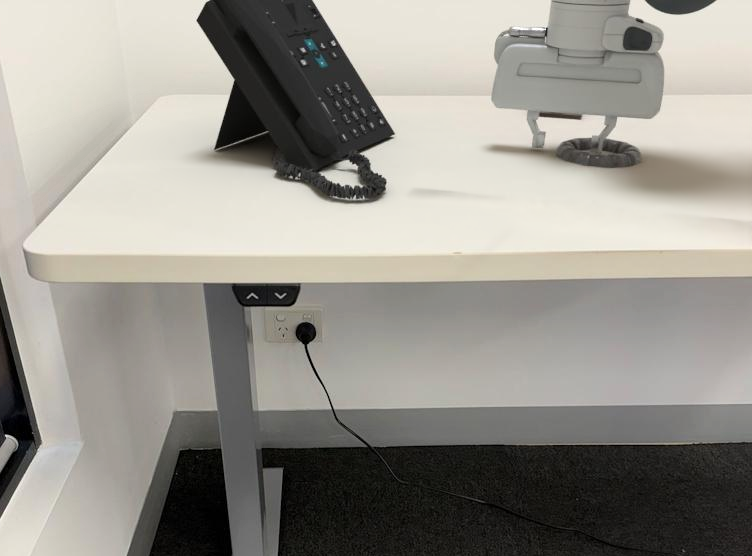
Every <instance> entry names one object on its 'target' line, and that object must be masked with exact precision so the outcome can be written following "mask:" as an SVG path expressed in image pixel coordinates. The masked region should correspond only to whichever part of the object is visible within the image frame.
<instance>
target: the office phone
mask: <svg viewBox="0 0 752 556" xmlns="http://www.w3.org/2000/svg"><path fill="white" fill-rule="evenodd" d="M195 21H196V23H197V24H198V26H199V27H200V29H201V31H202V32H203V33H204V35H205V37H206V38H207V40H208V41H209V43H210V44H211V46H212V47H213V49H214V51H215V52H216V53H217V55H218V56H219V58H220V59H221V61H222V63H223V64H224V66H225V67H226V69H227V71H228V72H229V74H230V75H231V77H232V78H233V83H232V87H231V90H230V94H229V97H228V100H227V104H226V107H225V111H224V115H223V118H222V121H221V125H220V128H219V131H218V134H217V138H216V142H215V144H214V148H213V151H216V150H219V149H222V148H224V147H227V146H230V145H233V144H235V143H239V142H242V141H244V140H247V139H250V138H253V137H256V136H259V135H262V134H264V133H267V132H268V134H269V136H270V137H271V139H272V140H273V141H274V147H273V151H272V157H271V163H272V164H273V165H274V170H275V171H276V172H277V175H279V176H280V177H282V176H283V177H286V179H288V178H290V177H292V179H293V181H294V180H295V179H296V178H297V179H298V180H299V179H300V181H302V182H305V181H306V182H308V183H311V185H313V186H314V187H316V188H317V191H320V192H321V193H322V194H324V195H326V196H327V197H331V198H333V197H334V198H335V197H337V198H338V199H343V200H345V199H348V200H353V199H354V198H355V200H360V199H361V200H363V199H364V200H371V199H372V198H377V197H378V196H379V195H381V193H383V192H385V191H387V187H386V186H387V183H388V181H387V179H386V178H385V177H384V176H383V174H379V172H374V171H373V170H372V169H371V166H372V163H371V162H370V159H369V158H368V157H367V156H366V155H365V154H361V153H359V150H361V149H364V148H366V147H369V146H371V145H373V144H375V143H376V144H377V143H378V142H381V141H382V140H385V139H388V138H390V137H393V136H394V135H396V133H395V131H394V129H393V128H392V126H391V125H390V123H389V122H388V120H387V118H386V117H385V115H384V113H383V112H382V110H381V108H380V107H379V105H378V104H377V102H376V101H375V99H374V96H373V95H372V94H371V92H370V91H369V89H368V87H367V86H366V85H365V83H364V81H363V79H362V78H361V76H360V74H359V73H358V71H357V70H356V68H355V67H354V65H353V63H352V62H351V60H350V58H349V57H348V55H347V53H346V51H344V48H343V47H342V45H341V44H340V43H339V41H338V39H337V38H336V35H334V33H333V31H332V29H331V27H330V25H329V24H328V23H327V22H326V20H325V18H324V16H323V15H322V13H321V12H320V10H319V8H318V7H317V5H316V4H315V2H314V0H207V1H206V2H205V3H204V5H203V7H202V9H201V10H200V13H199V15H198V17H197V18H196V20H195ZM241 140H242V141H241ZM276 147H277V148H278V150H279V151H280V153H281V154H282V156H283V157H282V158H279V159H278V157H277V155H276V149H277V148H276ZM345 156H347V157H346V158H344V157H345ZM336 161H349V164H350V163H351V165H352V166H353V165H355V166H356V167H357V173H358V175H359V177H360V178H361V180H362V181H364V183H366V185H363V186H362V187H361V186H360V185H359V184H356V185H354V186H352V185H350V184H344V185H341V184H340V182H337V183H335V182H333V181H332V180H330V179H328V178H326V176H325V175H322V173H320V171H317V170H319V169H321V168H324V167H326V166H328V165H329V164H331V163H334V162H336Z"/></svg>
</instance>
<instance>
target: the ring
mask: <svg viewBox="0 0 752 556" xmlns="http://www.w3.org/2000/svg"><path fill="white" fill-rule="evenodd" d="M591 139H592V137H578V138H575V137H574V138H571V139H567V140H564V141H562V142H561V143H559V144H558V146H557V148H556V151H555V154H554V155H555V156H556V157H557V158H559V159H561V160H562V161H564V162H567V163H571V164H574V165H575V164H576V165H580V166H582V167H583V166H584V167H592V168H601V169H602V168H603V169H615V168H616V169H617V168H629V167H633V166H635V165H638V164H641V163H642V153H641V150H640V149H639V147H636V146H634V145H633V144H630V143H628V142H626V141H621V140H616V139H612V138H606V139H604V141H603V146H602V152H607V153H608V154H607V153H592V152H588V151H590V145H591Z"/></svg>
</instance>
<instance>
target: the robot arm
mask: <svg viewBox="0 0 752 556" xmlns="http://www.w3.org/2000/svg"><path fill="white" fill-rule="evenodd" d="M644 2H646V3H647V4H648V5H649V7H651V8H652V9H654V10H656V11H658V12H661V13H664V14H667V15H674V16H681V15H682V16H683V15H688V14H692V13H693V14H694V13H696V12H699V11H701V10H704V9H705V8H708V7H709V6H711V5H712V4H714V3H715V2H717V0H644ZM630 5H631V0H550V7H549V14H548V21H547V26H546V27H543V26H542V27H539V26H530V27H521V26H517V25H516V26H515V25H513V26H510V27H509V28H508V29H506V30H503V31H501V32H500V33H499V34H498V35H497V37H496V39H495V43H494V51H493V58H494V61H495V63H496V65H497V67H496V70H495V75H494V80H493V84H492V88H491V89H492V90H491V97H490V100H491V102H492V104H493V106H494V107H495V108H496V109H503V110H517V111H527V113H526V122H527V124H528V126H529V129H530V131H531V134H532V135H533V136H532V142H531V148H534V149H544V148H545V143H546V141H545V139H546V135H547V131H542V130H540V127H539V125H538V122H537V121H538V119H539V118H540V117H539V113H540V111H543V112H557V113H571V114H582V115H586V116H599V117H601V116H602V117H604V123H603V124H604V126H605V127H604V128H603V130H601V132H600V133H599V134H598V135H592V136H591V138H592V139H591V145H590V150H588V151H589V152H588V153H596V154H602V152H603V151H602V146H603V141H604V139H607V137H609V135H610V134H611V133H612V132H613V130H614V128H616V126H617V121H618V118H627V119H629V118H630V119H641V120H643V119H644V120H652V119H653V118H655V117H656V116H657V115H658V114H659V113H660V111H661V108H662V103H663V96H664V89H665V88H664V86H665V65H664V64H665V63H664V60H663V57H662V56H661V53H660V52H659V51H660V50H661V49H662V47H663V43H664V39H665V33H664V31H663V30H662V29H661V28H660V27H658V26H657V25H655V24H652V23H650V22H647V21H646V20H645V21H644V20H643V19H641V18H639V17H635V16H632V15H630V13H629V11H630Z"/></svg>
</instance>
